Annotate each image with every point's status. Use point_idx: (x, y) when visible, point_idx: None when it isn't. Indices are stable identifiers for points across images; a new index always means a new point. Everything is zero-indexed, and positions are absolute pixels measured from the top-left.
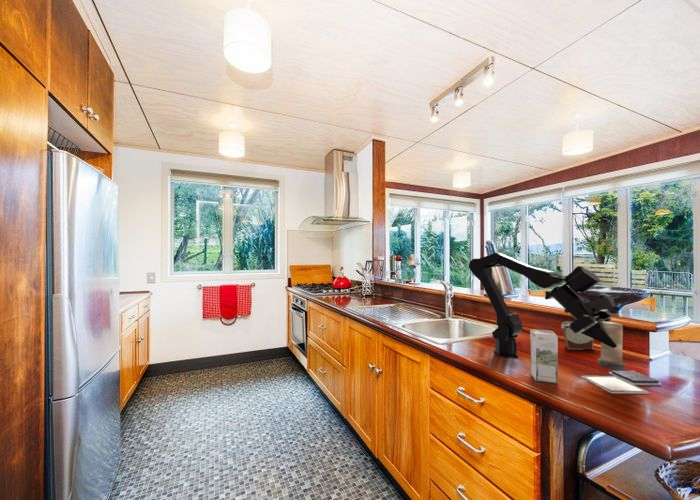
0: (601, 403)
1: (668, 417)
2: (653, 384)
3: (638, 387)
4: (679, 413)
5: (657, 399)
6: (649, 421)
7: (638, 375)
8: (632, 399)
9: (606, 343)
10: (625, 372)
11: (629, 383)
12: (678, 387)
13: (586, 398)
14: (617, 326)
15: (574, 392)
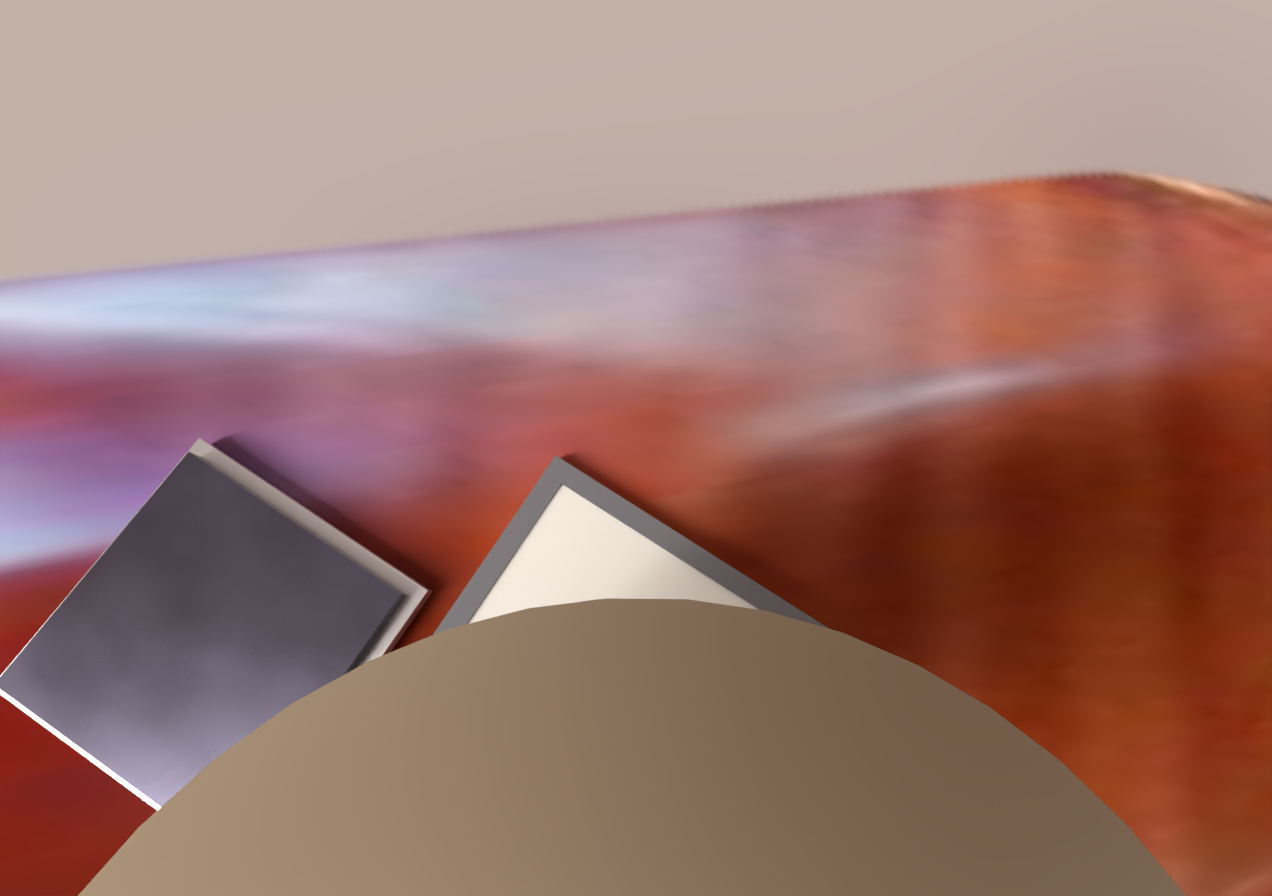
0: (1159, 620)
1: (942, 290)
2: (267, 482)
3: (513, 534)
4: (796, 262)
5: (640, 394)
6: (1132, 345)
7: (161, 608)
8: (828, 504)
9: None
10: (154, 724)
11: (464, 613)
12: (138, 352)
13: (1183, 730)
14: (1029, 753)
15: (1161, 852)
